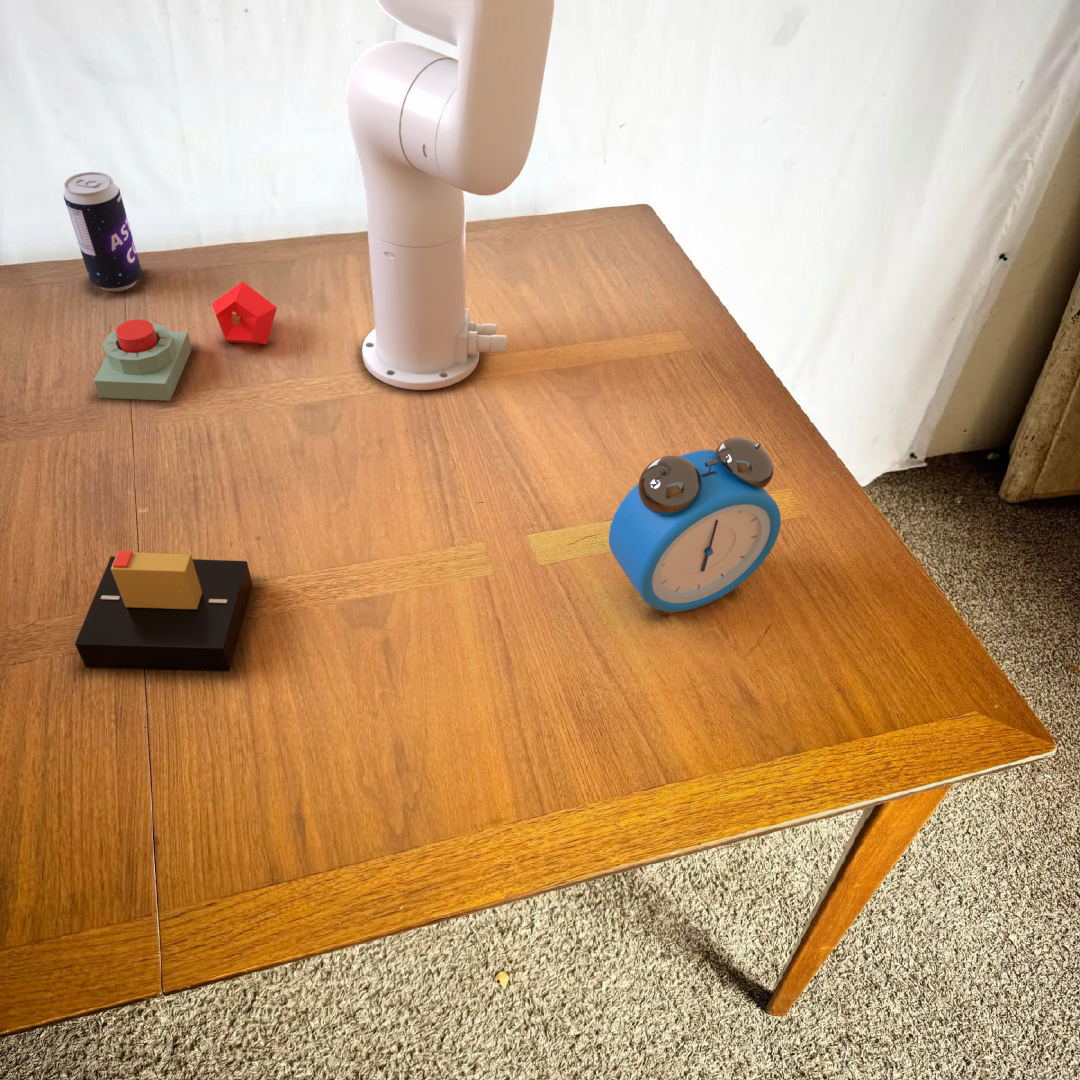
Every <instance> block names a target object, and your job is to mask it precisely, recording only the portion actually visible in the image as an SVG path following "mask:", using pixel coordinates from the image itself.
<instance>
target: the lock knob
mask: <svg viewBox="0 0 1080 1080" xmlns="http://www.w3.org/2000/svg"><path fill="white" fill-rule="evenodd" d="M114 557H115V560H114V562H113V565H112V567H111V571H112V573H113V576H114V579H115V581H116V584H117V586H118V589H119V591H120V594H121V596H122V599H123V601H124V604H125V606H126V607H133V608H165V609H197V608H198V605H199V601H200V598H201V595H202V590H201V587H200V583H199V580H198V577H197V573H196V570H195V567H194V563H193V560H192V559H193V557H192V554H191V553H166V552H165V553H161V552H136V551H132V550H118V552H117V553H116V555H115V556H114Z"/></svg>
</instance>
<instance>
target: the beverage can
mask: <svg viewBox="0 0 1080 1080" xmlns="http://www.w3.org/2000/svg"><path fill="white" fill-rule="evenodd" d="M63 186H64V187H63V188H64V193H63V200H64V203H65V206H66V209H67V213H68V215H69V219H70V221H71V224H72V228H73V231H74V235H75V239H76V240H77V244H78V247H79V250H80V253H81V256H82V260H83V262H84V266H85V270H86V273H87V276H88V278H89V281H90V282H91V283H92V284H93V285H94V286H97V287H99V288H101V289H102V290H103V291H108V292H121V291H125V290H128V289H131V288H132V287H134V286H135V284H136V283H137V281H138V280H139V279H140V278H141V276H142V273H143V272H142V268H141V263H140V260H139V257H138V252H137V250H136V249H137V248H136V246H135V242H134V241H135V240H134V239H133V234H132V230H131V227H130V222H129V220H128V215H127V211H126V208H125V204H124V201H123V196H122V194H121V190H120V188H119V187H118V186H117V184H115V182H114V179H113V177H112V176H111V175H109V174H107V173H104V172H100V171H87V172H80V173H77V174H73V175H72V176H69V177H68V178H67V179H66V180H65V181H64V184H63Z"/></svg>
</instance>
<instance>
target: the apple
mask: <svg viewBox="0 0 1080 1080" xmlns="http://www.w3.org/2000/svg"><path fill="white" fill-rule="evenodd" d="M211 307H212V309H213V313H214V314H215V317H216V319H217V322H218V324H219V327H220V329H221V331H222V333H223V337H224V340H225V341H226V343H237V344H238V343H239V344H255V345H256V344H257V345H268V342H269V339H270V335H271V331H272V327H273V323H274V320H275V316H276V312H277V310H278V309H277V308H278V306H277V305H275V304H274V303H272V302H270V301H269V300H268V299H267V298H265V297H264V296H263V295H262V294H260V293H259V292H258V291H256V290H255V289H253V288H252V287H251V286H249V285H248V284H247V283H245V282H244V281H241V282H240V283H238V284H237V285H235V286H233V288H231V289H229V290H228V291H227V292H226V293H224V294H223V295H222V296H220V297H219V298H217V299H215V301H213V302H212V303H211Z"/></svg>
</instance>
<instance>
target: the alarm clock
mask: <svg viewBox="0 0 1080 1080" xmlns="http://www.w3.org/2000/svg"><path fill="white" fill-rule="evenodd" d="M773 477H774V464H773V460H772V458H771V456H770V454H769V453H768V452H767V450H766V449H765V448H764V447H763V446H762V443H761V442H760V441H758V442H756V441H754V440H752V439H750V438H745V437H740V436H739V437H731V438H728V439H726V440H724V441H722V442H721V443H719V445H718V446H717V448H716V449H701V450H696V451H695V450H694V451H692V452H688V453H684V454H682V455H665V456H661V457H659V458H657V459H654V460H653V461H652V462H651V463H649V464H648V465H647V466H646V467H645V468H644V470H642V472H641V474H640V476H639V479H638V482H637V483H636V485H634V487H632V489H630V491H629V492H628V493H627V495H626V496H625V497H624V498H623V500H622V501H621V503H620V504H619V505H618V507H617V509H616V511H615V513H614V515H613V517H612V520H611V523H610V527H609V532H608V544H609V549H610V551H611V554H612V556H613V557H614V559H615V561H616V562H617V563H618V565H619V566H620V569H622V571H623V572H624V574H625V575H626V577H627V579H628V580H629V581H630V583H631V584H632V586H633V587H634V588H635V590H636V591H637V593H638V594H639V596H640V598H641V599H642V600H643V601H644V602H645V603H646V604H647V605H648V606H649V607H651V608H653V609H654V610H655V609H656V610H657V612H656V614H657V615H658V616H661V615H662V614H664V613H665V612H667V613H679V612H685V611H690V610H693V609H697V608H700V607H703V606H706V605H708V604H711V603H713V602H715V601H717V600H718V599H721V598H722V597H725V596H726V595H727V594H730V593H731V592H733V591H734V590H735V589H736V588H738V587H739V586H740V585H741V584H743V583H744V582H745V581H746V580H747V579H748V578H750V577H751V576H752V575H753V574H754V573H755V572H756V571H757V570H758V569H759V567H760V566H761V565H762V564H763V563H764V561H765V560H766V559H767V557H768V556H769V555H770V553H771V551H772V550H773V548H774V546H775V544H776V542H777V539H778V538H779V534H780V530H781V524H782V523H781V522H782V517H781V511H780V508H779V506H778V504H777V502H776V501H775V499H774V498H773V497H772V496H771V495H770V494H769V492H768V491H767V490H766V489H765V488H767V487H768V486H769V484H770V483H771V481H772V479H773Z"/></svg>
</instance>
